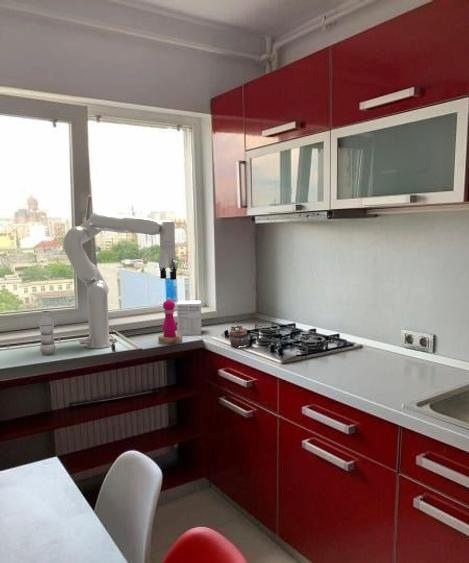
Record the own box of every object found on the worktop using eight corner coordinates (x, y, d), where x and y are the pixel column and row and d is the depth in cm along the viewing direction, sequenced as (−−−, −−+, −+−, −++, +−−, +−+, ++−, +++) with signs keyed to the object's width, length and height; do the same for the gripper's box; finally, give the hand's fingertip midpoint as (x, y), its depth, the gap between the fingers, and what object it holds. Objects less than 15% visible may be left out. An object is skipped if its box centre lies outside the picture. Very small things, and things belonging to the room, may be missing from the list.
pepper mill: (179, 335, 237) (178, 296, 235) (170, 338, 231) (169, 298, 229) (168, 334, 241) (167, 296, 239) (159, 336, 235) (158, 297, 233)
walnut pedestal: (166, 345, 228) (165, 339, 228) (154, 341, 237) (154, 336, 237) (186, 342, 235) (186, 336, 235) (174, 338, 245) (174, 333, 244)
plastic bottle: (49, 356, 209) (47, 312, 207) (37, 355, 211) (35, 312, 209) (59, 353, 215) (57, 310, 213) (47, 352, 217) (45, 310, 216)
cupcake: (240, 349, 218) (240, 328, 217) (225, 346, 224) (224, 326, 223) (253, 345, 225) (252, 325, 224) (237, 343, 231) (237, 323, 230)
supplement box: (201, 334, 254) (200, 303, 253) (177, 335, 253) (176, 303, 252) (201, 330, 267) (201, 300, 266) (178, 331, 266) (177, 300, 265)
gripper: (152, 245, 237) (153, 278, 238) (169, 245, 223) (170, 280, 225) (165, 245, 241) (166, 277, 243) (183, 244, 228) (183, 279, 229)
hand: (168, 279), depth 234 cm, fingers open, 9 cm apart
